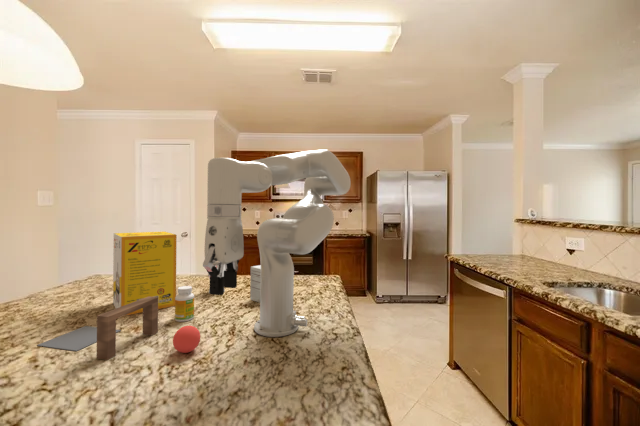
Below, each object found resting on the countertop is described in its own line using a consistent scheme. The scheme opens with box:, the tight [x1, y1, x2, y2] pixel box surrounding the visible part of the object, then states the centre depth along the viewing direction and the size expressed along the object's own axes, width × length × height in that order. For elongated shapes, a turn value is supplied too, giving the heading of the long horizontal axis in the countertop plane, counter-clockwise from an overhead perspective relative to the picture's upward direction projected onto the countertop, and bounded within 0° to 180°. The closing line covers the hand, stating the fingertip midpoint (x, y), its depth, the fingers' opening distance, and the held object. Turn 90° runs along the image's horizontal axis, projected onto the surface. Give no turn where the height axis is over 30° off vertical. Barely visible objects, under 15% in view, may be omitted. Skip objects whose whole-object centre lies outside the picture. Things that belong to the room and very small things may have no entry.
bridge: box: [96, 296, 159, 361], centre depth 73 cm, size 3×15×10 cm, turn 168°
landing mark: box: [36, 325, 121, 352], centre depth 76 cm, size 12×12×1 cm
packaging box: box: [112, 231, 178, 317], centre depth 102 cm, size 16×16×25 cm
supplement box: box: [249, 264, 261, 304], centre depth 110 cm, size 7×7×13 cm
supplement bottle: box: [174, 285, 195, 322], centre depth 90 cm, size 5×5×10 cm
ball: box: [172, 325, 201, 354], centre depth 70 cm, size 6×6×6 cm
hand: (223, 290), depth 67 cm, fingers open, 5 cm apart
